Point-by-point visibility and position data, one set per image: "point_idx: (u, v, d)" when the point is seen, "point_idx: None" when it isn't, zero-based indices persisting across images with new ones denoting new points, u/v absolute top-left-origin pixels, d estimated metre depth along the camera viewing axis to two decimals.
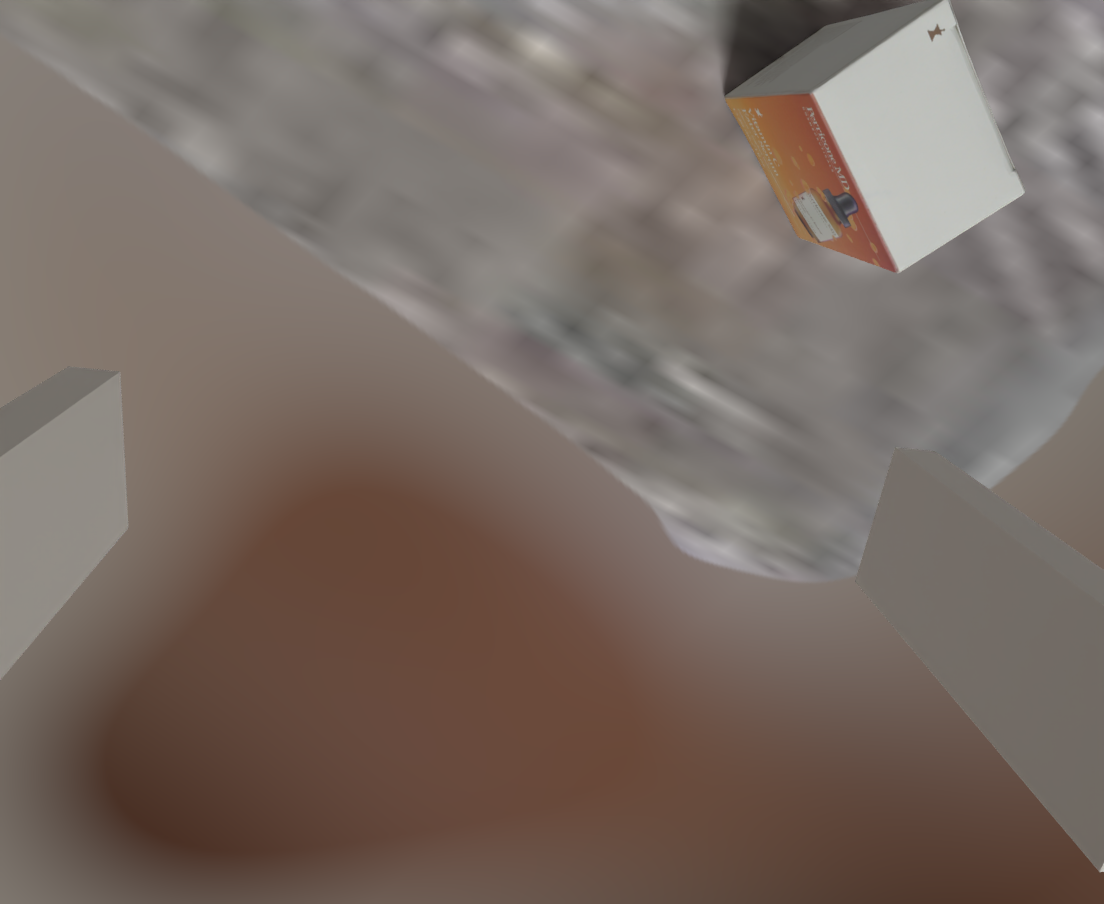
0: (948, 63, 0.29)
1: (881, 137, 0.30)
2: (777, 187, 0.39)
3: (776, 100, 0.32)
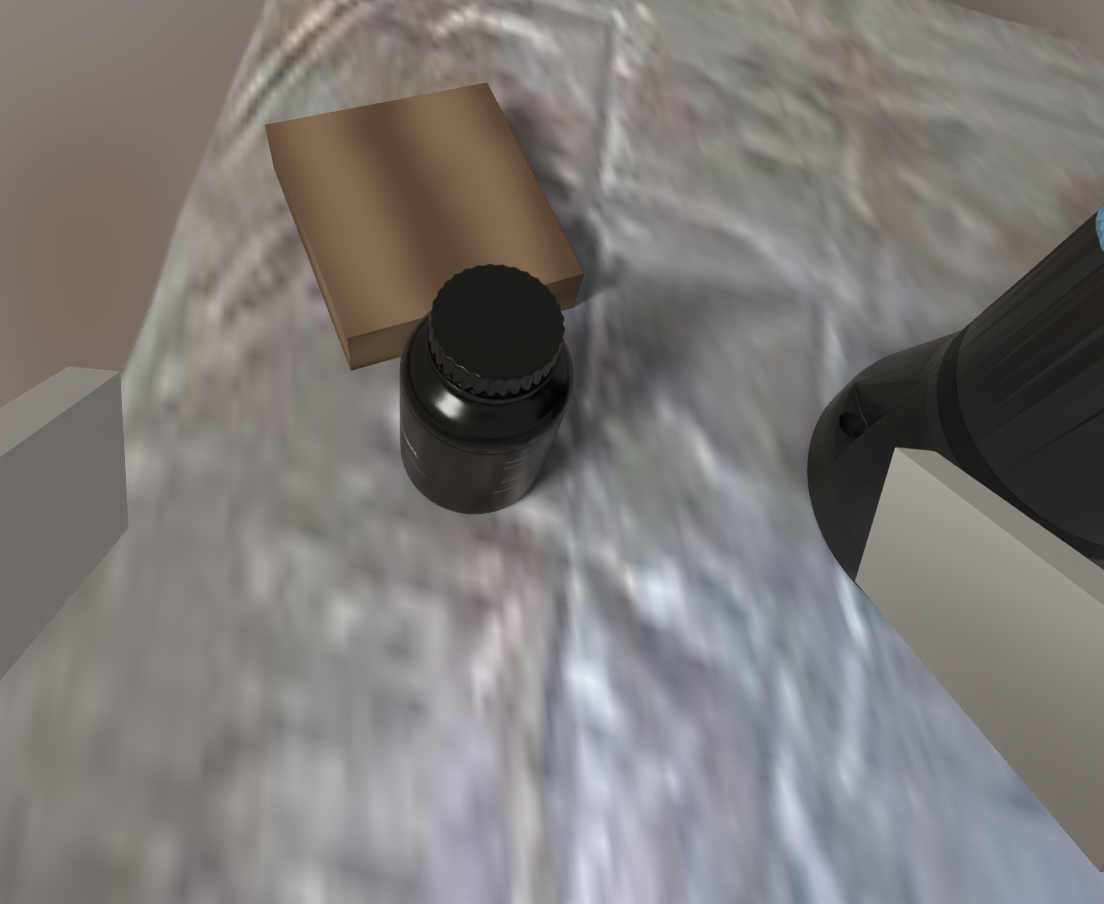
0: None
1: None
2: None
3: None
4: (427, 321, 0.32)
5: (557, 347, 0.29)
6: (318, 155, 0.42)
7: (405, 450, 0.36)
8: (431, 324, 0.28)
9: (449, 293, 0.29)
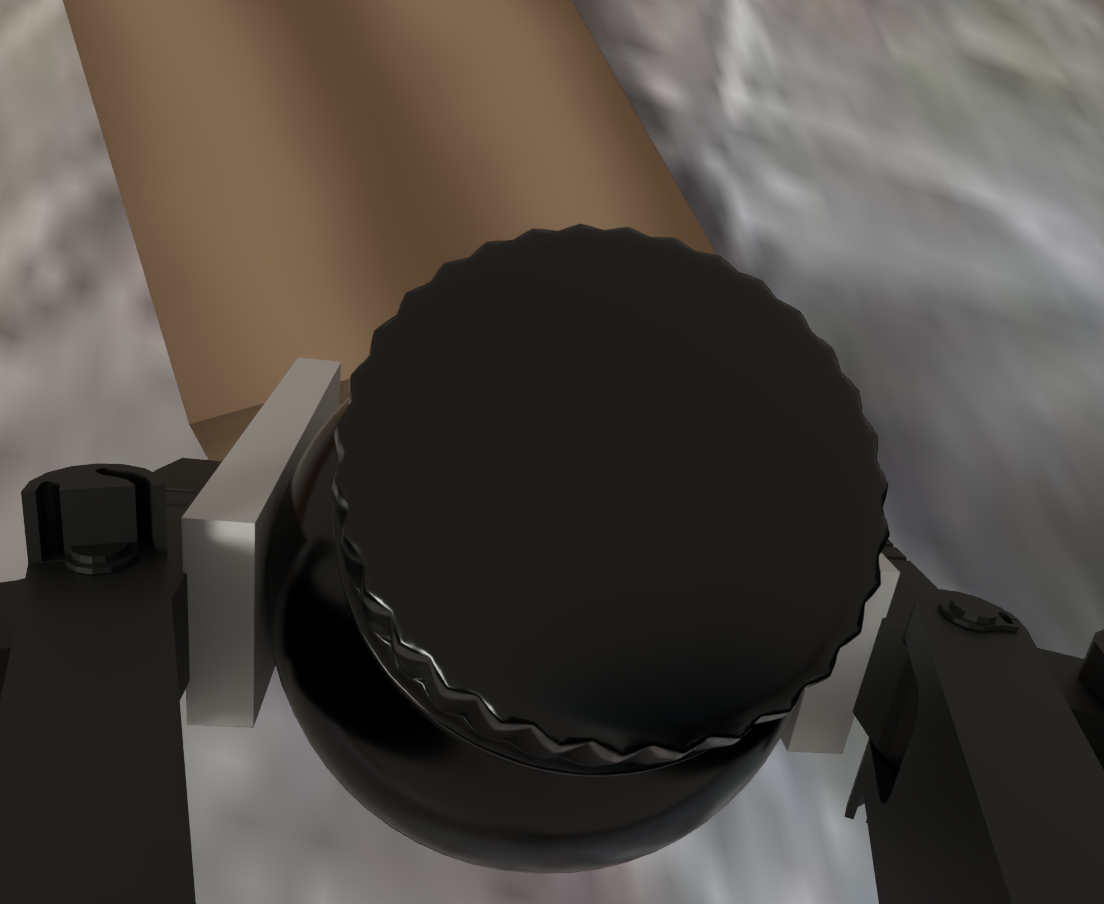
0: None
1: None
2: None
3: None
4: None
5: (874, 571, 0.07)
6: (159, 17, 0.20)
7: None
8: (338, 484, 0.06)
9: (421, 343, 0.07)
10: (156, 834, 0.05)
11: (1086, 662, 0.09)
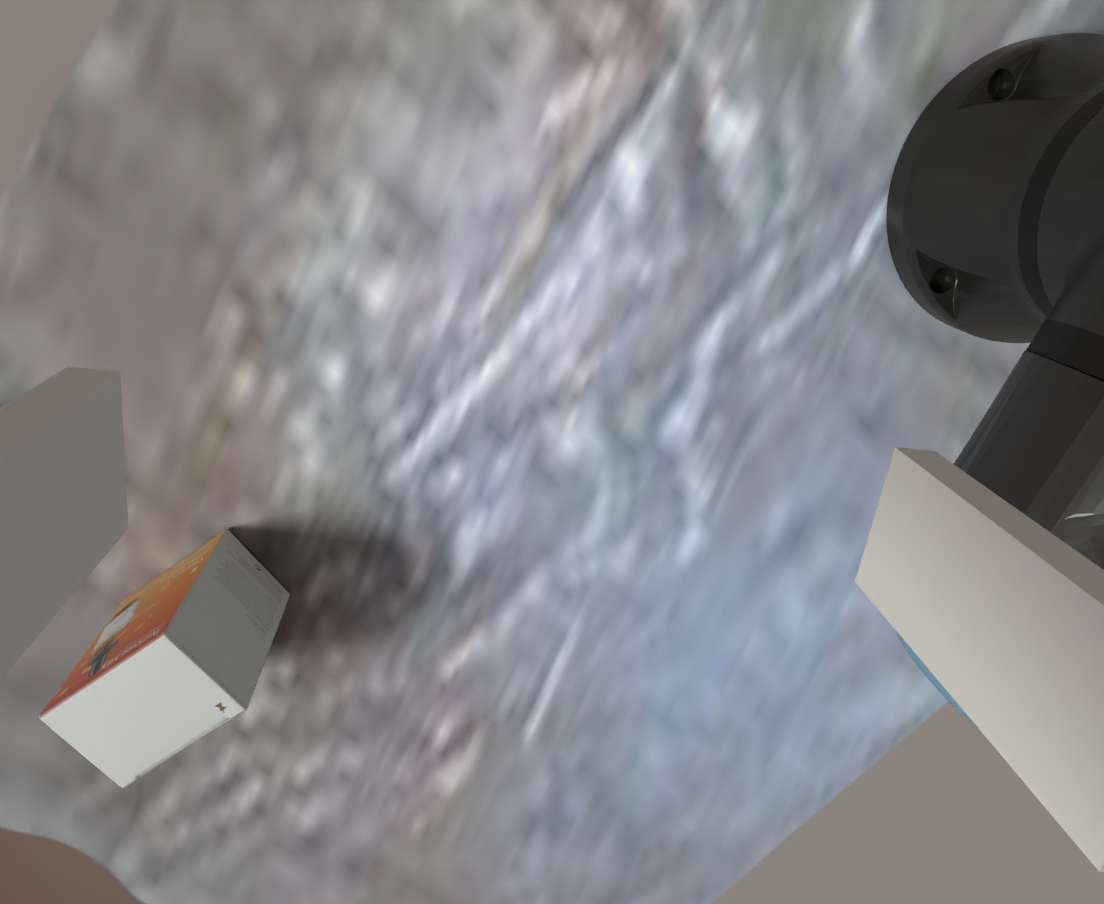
0: (202, 719, 0.39)
1: (140, 686, 0.38)
2: (156, 580, 0.47)
3: (185, 592, 0.41)
4: None
5: None
6: None
7: None
8: None
9: None
10: None
11: None
